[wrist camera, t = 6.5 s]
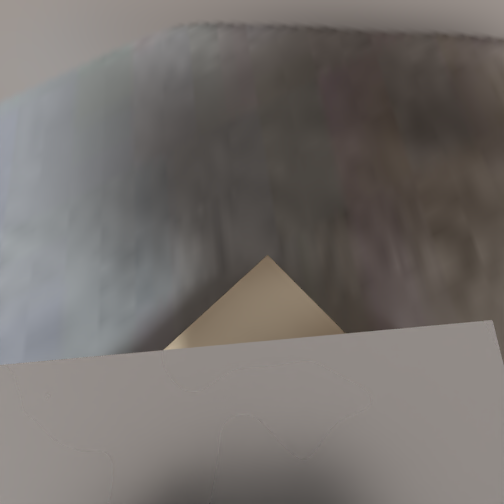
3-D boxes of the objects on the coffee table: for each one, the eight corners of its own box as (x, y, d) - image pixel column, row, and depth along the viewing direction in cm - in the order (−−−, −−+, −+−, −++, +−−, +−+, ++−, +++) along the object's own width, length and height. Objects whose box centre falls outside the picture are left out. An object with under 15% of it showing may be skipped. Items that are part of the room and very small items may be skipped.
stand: (459, 463, 16) (485, 474, 14) (256, 692, 14) (254, 740, 12) (268, 268, 18) (267, 254, 16) (75, 445, 17) (50, 453, 15)
